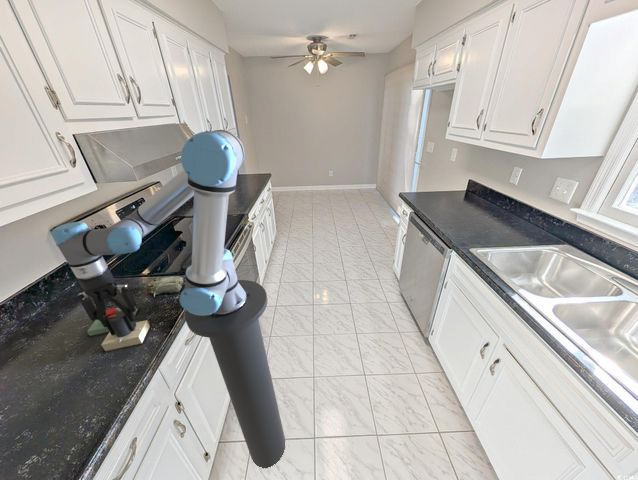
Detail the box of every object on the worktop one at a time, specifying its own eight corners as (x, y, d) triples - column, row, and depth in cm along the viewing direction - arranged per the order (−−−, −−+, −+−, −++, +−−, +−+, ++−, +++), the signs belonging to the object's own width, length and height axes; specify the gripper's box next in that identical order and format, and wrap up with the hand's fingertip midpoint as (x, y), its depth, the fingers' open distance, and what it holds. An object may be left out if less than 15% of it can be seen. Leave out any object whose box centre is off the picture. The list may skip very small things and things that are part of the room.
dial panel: (150, 325, 93) (147, 318, 91) (141, 344, 85) (137, 337, 83) (117, 332, 91) (113, 325, 89) (104, 352, 82) (99, 345, 81)
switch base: (138, 310, 101) (134, 302, 99) (127, 328, 92) (123, 320, 90) (103, 316, 98) (99, 308, 97) (89, 336, 90) (84, 327, 88)
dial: (136, 324, 89) (127, 308, 86) (130, 335, 85) (121, 318, 81) (120, 328, 88) (111, 312, 85) (113, 339, 84) (104, 322, 80)
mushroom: (146, 298, 107) (141, 288, 105) (156, 285, 116) (151, 275, 113) (181, 294, 108) (178, 283, 106) (188, 281, 117) (185, 271, 115)
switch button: (119, 310, 96) (117, 306, 95) (114, 317, 92) (112, 313, 91) (107, 312, 95) (105, 309, 94) (102, 320, 91) (100, 316, 91)
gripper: (48, 286, 70) (87, 345, 81) (122, 273, 74) (150, 331, 85) (65, 272, 77) (99, 329, 87) (131, 261, 81) (156, 316, 91)
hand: (124, 330), depth 86 cm, fingers closed on dial, 5 cm apart
